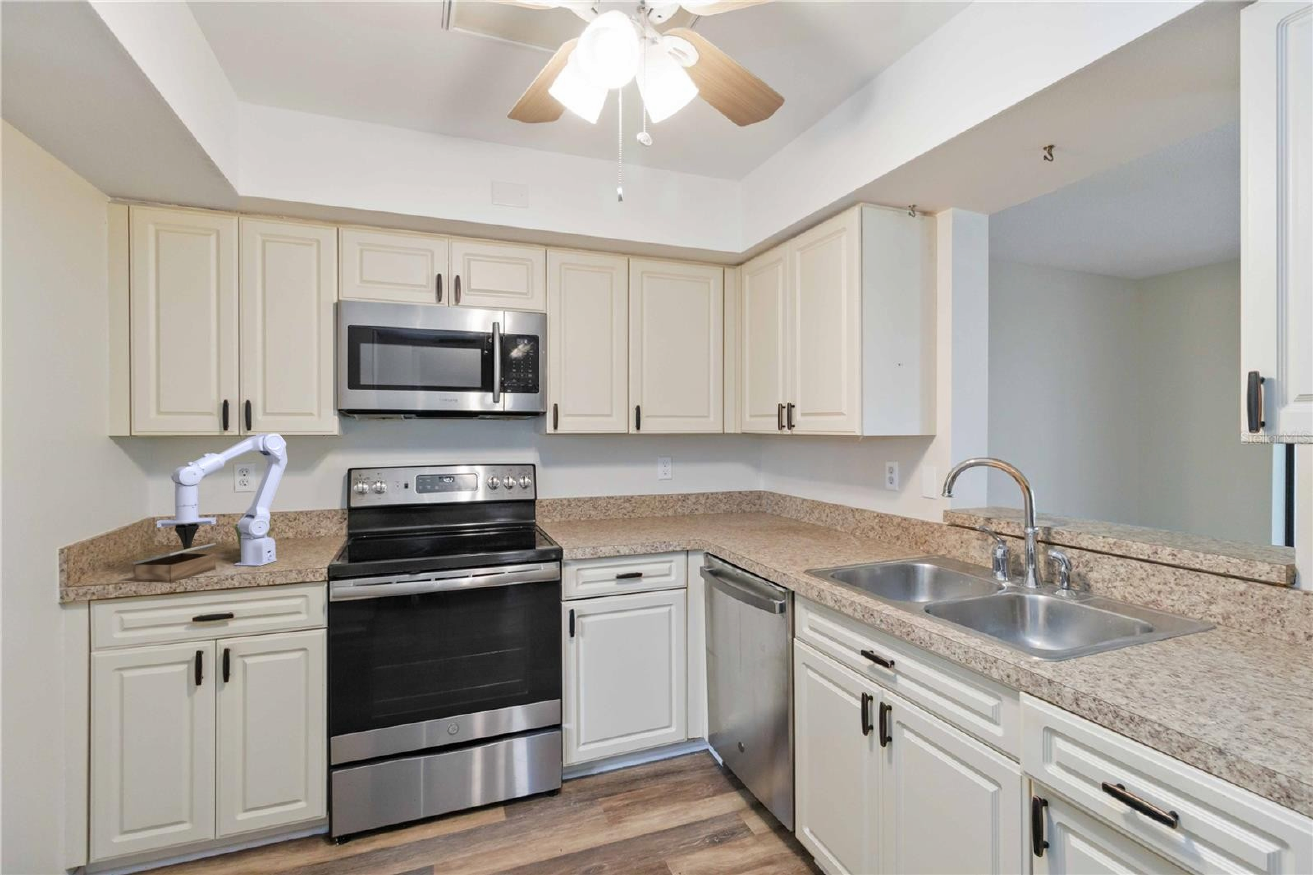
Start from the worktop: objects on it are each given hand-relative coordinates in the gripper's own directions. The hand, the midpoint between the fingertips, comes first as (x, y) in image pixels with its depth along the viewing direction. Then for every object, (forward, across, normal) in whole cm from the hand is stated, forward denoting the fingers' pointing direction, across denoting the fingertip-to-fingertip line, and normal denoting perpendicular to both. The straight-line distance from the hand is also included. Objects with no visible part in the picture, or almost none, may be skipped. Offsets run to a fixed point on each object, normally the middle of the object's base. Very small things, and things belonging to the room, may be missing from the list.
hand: (187, 548), depth 187 cm
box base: (+8, +3, -1) cm, 9 cm away
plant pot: (+8, -14, -25) cm, 29 cm away
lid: (+2, +3, -1) cm, 3 cm away
